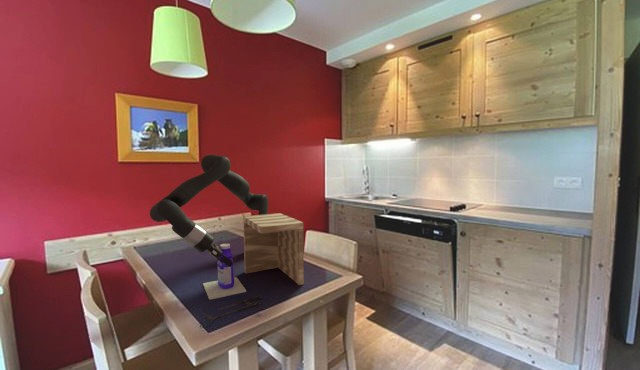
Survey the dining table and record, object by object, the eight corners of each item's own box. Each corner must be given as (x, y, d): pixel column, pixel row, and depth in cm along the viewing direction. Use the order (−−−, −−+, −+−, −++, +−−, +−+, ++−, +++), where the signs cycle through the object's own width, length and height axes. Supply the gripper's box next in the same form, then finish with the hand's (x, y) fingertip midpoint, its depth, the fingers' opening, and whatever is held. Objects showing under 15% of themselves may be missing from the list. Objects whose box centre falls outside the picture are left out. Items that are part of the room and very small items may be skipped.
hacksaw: (260, 297, 113) (260, 293, 113) (272, 308, 105) (272, 304, 105) (194, 316, 100) (194, 312, 99) (201, 330, 91) (201, 325, 91)
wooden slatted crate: (244, 272, 138) (243, 216, 136) (280, 265, 147) (279, 213, 145) (262, 293, 115) (261, 227, 113) (303, 284, 124) (303, 222, 122)
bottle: (215, 285, 122) (214, 244, 120) (228, 281, 126) (227, 241, 124) (223, 291, 117) (222, 248, 115) (236, 286, 121) (235, 245, 119)
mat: (203, 284, 124) (202, 283, 124) (236, 277, 131) (236, 276, 131) (209, 299, 110) (209, 298, 110) (246, 291, 117) (246, 290, 117)
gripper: (208, 234, 109) (240, 259, 116) (202, 226, 122) (231, 249, 128) (193, 250, 107) (226, 274, 114) (189, 241, 120) (219, 263, 126)
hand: (229, 261), depth 121 cm, fingers open, 8 cm apart
